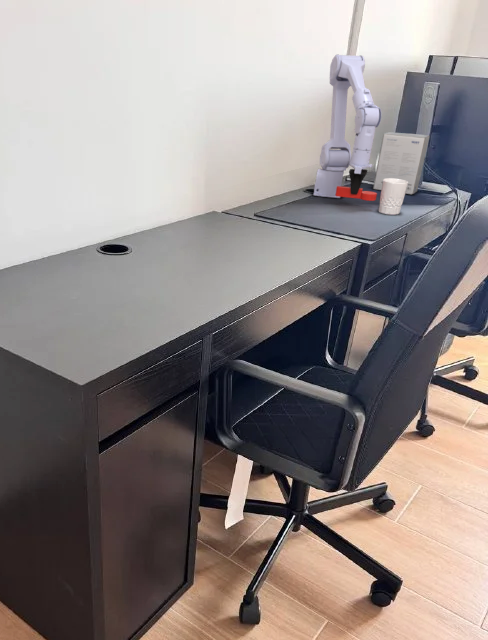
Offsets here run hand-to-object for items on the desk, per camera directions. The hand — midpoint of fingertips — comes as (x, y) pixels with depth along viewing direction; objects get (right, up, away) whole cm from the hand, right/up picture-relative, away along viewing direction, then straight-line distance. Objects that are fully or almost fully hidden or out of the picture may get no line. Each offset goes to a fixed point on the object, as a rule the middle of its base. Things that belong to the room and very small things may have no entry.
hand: (354, 193), depth 192 cm
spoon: (+1, -1, +1) cm, 2 cm away
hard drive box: (+24, +12, +31) cm, 41 cm away
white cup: (+11, -7, 0) cm, 13 cm away
